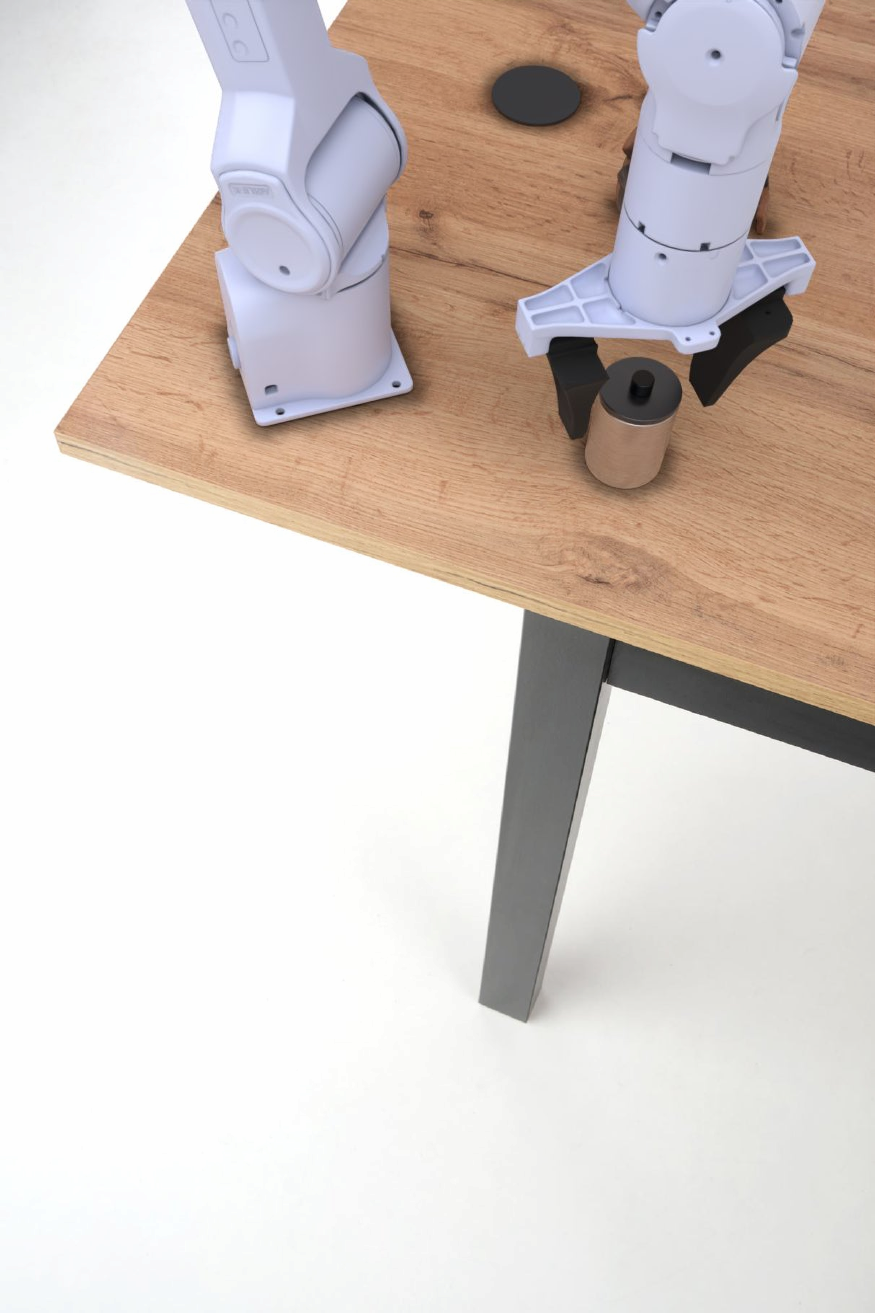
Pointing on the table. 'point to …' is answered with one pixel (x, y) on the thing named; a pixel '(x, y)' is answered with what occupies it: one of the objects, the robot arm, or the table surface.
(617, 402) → the steel pot
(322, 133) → the robot arm
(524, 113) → the trivet
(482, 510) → the table surface
